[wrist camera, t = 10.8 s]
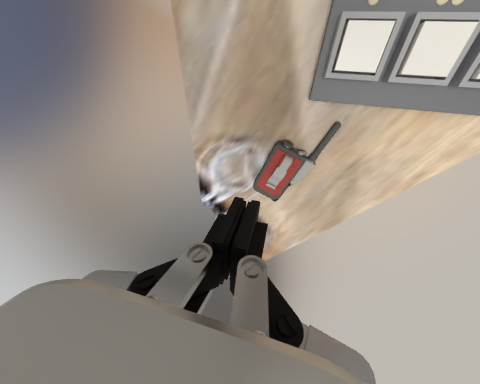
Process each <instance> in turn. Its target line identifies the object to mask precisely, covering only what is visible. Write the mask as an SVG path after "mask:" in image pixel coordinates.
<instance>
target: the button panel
mask: <svg viewBox="0 0 480 384" xmlns="http://www.w3.org/2000/svg"><path fill="white" fill-rule="evenodd" d="M349 20H369V21H395V23H394V26H393V29H392V31H391V34H390V36H389V39H388V41H387V44H386V46H385V49H384V52H383V54H382V57H381V59H380V62H379V64H378V67H377V69H376V72H375V73H357V72H341V71H332V70H333V66H334V63H335V59H336V56H337V52H338V48H339V45H340V41H341V38H342V34H343V31H344V27H345V24H346V23H347V22H348V21H349ZM425 21H444V22H478V24H477V26H476V27H475V29H474V31H473V33H472V34H471V36H470V38H469V39H468V41H467V43H466V45H465V46H464V48H463V50H462V52H461V53H460V55H459V57H458V58H457V60H456V62H455V64H454V65H453V67H452V69H451V71H450V72H449V74H448V76H447V77H423V76H406V75H396V74H397V72H398V69H399V67H400V65H401V63H402V60H403V58H404V56H405V54H406V51H407V49H408V47H409V45H410V42H411V40H412V38H413V36H414V33H415V31H416V29H417V27H418V25H419V24H420V23H423V22H425ZM479 63H480V0H333V3H332V7H331V11H330V15H329V19H328V24H327V28H326V32H325V36H324V40H323V44H322V48H321V52H320V57H319V61H318V65H317V69H316V73H315V77H314V81H313V85H312V90H311V94H310V98H309V99H310V100H314V101H325V102H336V103H347V104H359V105H370V106H381V107H392V108H403V109H414V110H425V111H436V112H447V113H458V114H469V115H480V80H472V79H469V78H470V77H471V75H472V74H473V72H474V70H475V69H476V67H477V66H478V64H479Z"/></svg>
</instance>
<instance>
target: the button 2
mask: <svg viewBox="0 0 480 384" xmlns="http://www.w3.org/2000/svg"><path fill="white" fill-rule="evenodd" d="M477 24H478V22H444V21H425V22H423V23H420V24H419V25H418V27H417V29H416V31H415V33H414V36H413V38H412V40H411V42H410V45H409V47H408V49H407V51H406V54H405V56H404V58H403V60H402V63H401V65H400V67H399V69H398V72H397V74H396V75H406V76H423V77H447V76H448V74H449V72H450V71H451V69H452V67H453V65H454V64H455V62H456V60H457V58H458V57H459V55H460V53H461V52H462V50H463V48H464V46H465V45H466V43H467V41H468V39H469V38H470V36H471V34H472V33H473V31H474V29H475V27H476V26H477Z"/></svg>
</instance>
